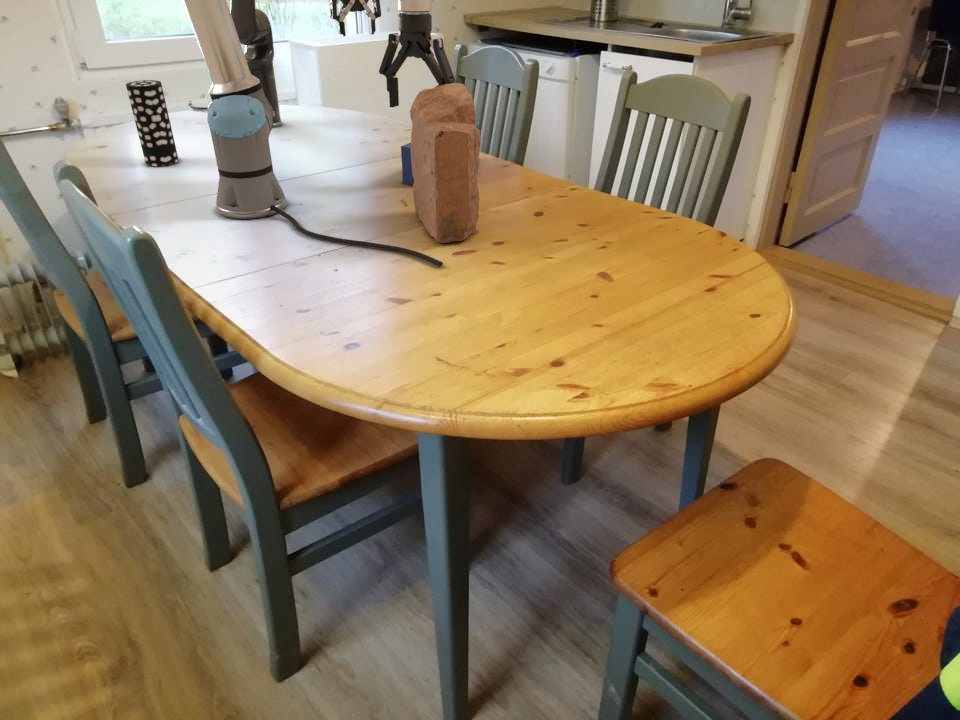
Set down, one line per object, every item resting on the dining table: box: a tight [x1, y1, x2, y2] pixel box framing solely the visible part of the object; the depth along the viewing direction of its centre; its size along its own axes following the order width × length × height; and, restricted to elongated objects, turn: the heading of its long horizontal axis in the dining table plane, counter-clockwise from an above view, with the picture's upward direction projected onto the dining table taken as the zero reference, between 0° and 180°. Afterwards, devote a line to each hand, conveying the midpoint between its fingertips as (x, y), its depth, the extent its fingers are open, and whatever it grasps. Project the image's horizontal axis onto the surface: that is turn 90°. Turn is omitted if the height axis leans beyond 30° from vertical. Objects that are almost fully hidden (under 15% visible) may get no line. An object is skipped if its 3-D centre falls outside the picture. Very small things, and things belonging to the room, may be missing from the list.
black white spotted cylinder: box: [125, 79, 179, 167], centre depth 181 cm, size 8×8×20 cm
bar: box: [400, 124, 479, 186], centre depth 180 cm, size 28×5×9 cm, turn 149°
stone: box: [409, 82, 482, 244], centre depth 143 cm, size 22×11×28 cm, turn 18°
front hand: (416, 110), depth 166 cm, fingers open, 13 cm apart
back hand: (357, 35), depth 196 cm, fingers open, 8 cm apart
